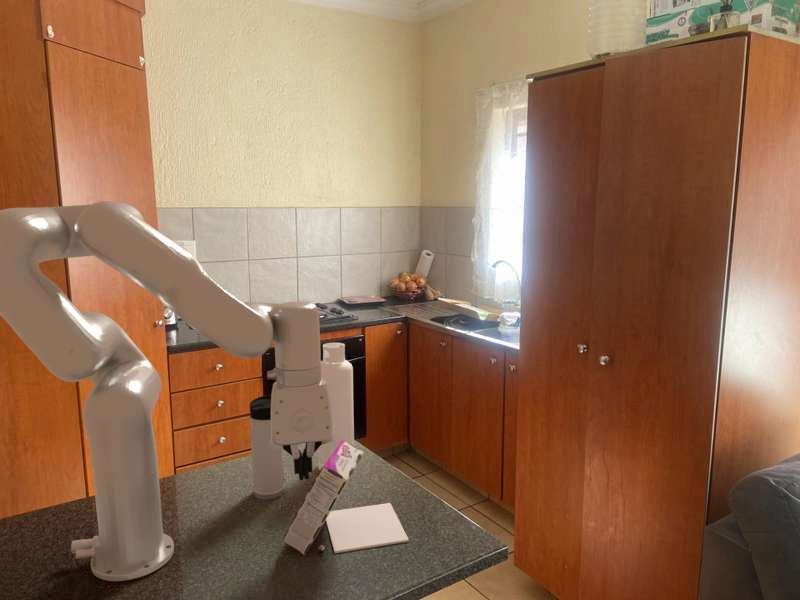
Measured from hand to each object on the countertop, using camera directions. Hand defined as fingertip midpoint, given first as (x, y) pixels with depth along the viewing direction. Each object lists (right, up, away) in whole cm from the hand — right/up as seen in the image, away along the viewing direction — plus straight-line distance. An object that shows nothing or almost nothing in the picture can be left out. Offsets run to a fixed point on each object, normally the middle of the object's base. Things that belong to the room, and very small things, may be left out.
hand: (303, 476), depth 101 cm
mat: (+10, -11, +5) cm, 16 cm away
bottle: (+3, -7, +29) cm, 30 cm away
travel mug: (-10, -9, +18) cm, 22 cm away
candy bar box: (0, -10, +1) cm, 10 cm away
